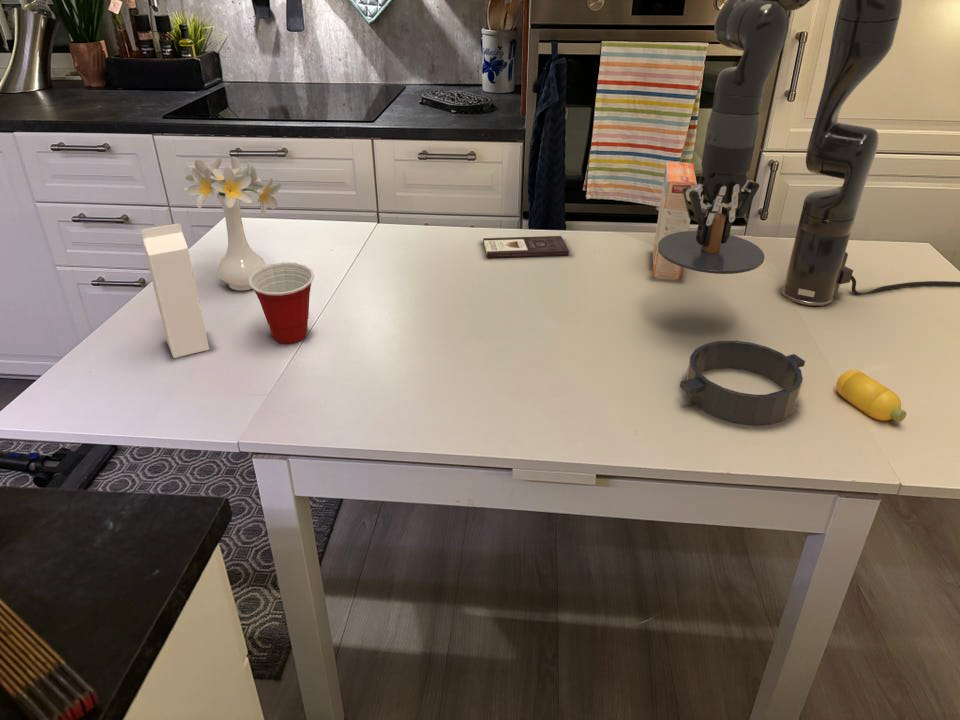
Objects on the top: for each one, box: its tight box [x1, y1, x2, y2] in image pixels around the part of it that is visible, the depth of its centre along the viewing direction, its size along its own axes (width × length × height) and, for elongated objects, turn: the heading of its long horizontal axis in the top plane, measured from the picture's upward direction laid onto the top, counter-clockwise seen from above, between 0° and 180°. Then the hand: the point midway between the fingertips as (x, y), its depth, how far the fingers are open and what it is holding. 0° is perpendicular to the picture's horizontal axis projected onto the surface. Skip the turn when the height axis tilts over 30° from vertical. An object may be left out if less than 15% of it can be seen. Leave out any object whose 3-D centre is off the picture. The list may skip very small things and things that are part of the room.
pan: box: [679, 339, 806, 426], centre depth 115 cm, size 16×22×6 cm
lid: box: [658, 212, 765, 275], centre depth 124 cm, size 17×17×7 cm
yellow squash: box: [836, 369, 907, 423], centre depth 112 cm, size 11×5×5 cm, turn 22°
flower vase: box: [185, 156, 283, 292], centre depth 143 cm, size 13×18×25 cm
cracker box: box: [652, 161, 698, 280], centre depth 153 cm, size 14×6×21 cm, turn 168°
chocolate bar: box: [482, 235, 570, 259], centre depth 166 cm, size 9×1×18 cm
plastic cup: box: [249, 261, 315, 345], centre depth 128 cm, size 11×11×12 cm
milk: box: [140, 223, 210, 359], centre depth 122 cm, size 6×6×22 cm
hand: (711, 242), depth 124 cm, fingers closed on lid, 3 cm apart
